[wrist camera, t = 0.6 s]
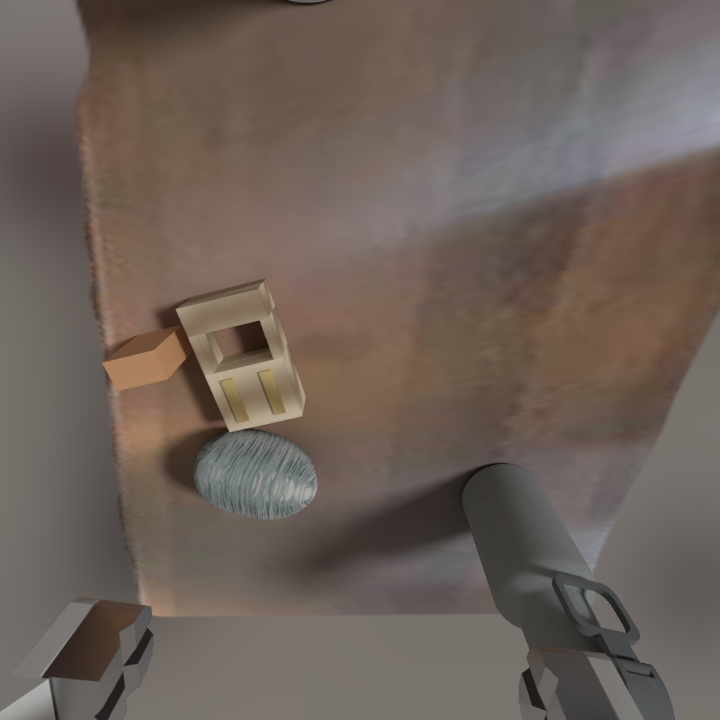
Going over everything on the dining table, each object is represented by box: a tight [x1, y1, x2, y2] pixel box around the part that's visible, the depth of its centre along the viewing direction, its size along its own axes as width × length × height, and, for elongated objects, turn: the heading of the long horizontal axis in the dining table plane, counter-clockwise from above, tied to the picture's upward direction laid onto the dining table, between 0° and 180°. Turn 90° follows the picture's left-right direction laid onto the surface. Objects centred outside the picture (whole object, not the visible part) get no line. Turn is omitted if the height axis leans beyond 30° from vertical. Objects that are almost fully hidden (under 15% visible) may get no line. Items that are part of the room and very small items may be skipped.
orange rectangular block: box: [102, 325, 193, 391], centre depth 42 cm, size 3×5×7 cm, turn 103°
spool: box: [193, 429, 317, 520], centre depth 48 cm, size 14×10×10 cm
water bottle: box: [462, 464, 675, 720], centre depth 41 cm, size 10×10×28 cm
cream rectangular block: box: [176, 279, 306, 432], centre depth 43 cm, size 14×8×4 cm, turn 14°
